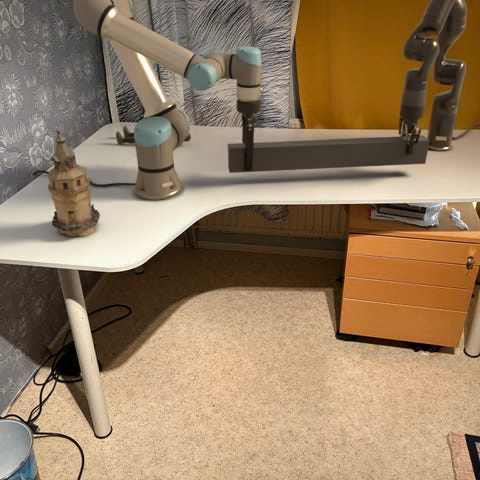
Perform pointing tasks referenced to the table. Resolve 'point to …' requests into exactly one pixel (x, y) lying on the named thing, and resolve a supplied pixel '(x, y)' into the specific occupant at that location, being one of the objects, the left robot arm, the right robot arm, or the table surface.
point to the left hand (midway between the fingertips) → (247, 167)
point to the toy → (130, 137)
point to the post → (328, 154)
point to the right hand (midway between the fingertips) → (405, 151)
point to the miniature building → (70, 193)
